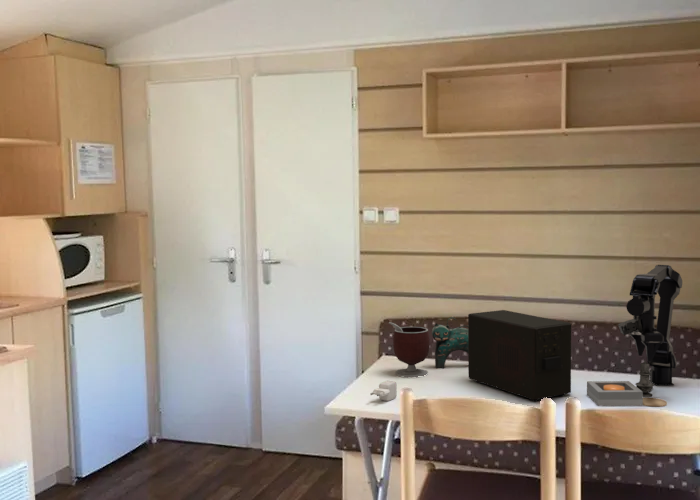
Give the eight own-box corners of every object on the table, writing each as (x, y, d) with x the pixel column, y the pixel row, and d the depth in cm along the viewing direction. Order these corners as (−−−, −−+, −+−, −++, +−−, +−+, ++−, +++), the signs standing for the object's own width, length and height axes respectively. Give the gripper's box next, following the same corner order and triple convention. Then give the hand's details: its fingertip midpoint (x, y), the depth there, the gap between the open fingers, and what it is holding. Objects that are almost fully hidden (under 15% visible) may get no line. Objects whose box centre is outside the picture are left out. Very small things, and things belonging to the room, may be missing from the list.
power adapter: (380, 406, 250) (380, 388, 250) (368, 403, 253) (367, 386, 253) (398, 398, 259) (398, 381, 259) (386, 396, 262) (386, 379, 262)
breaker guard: (628, 394, 260) (628, 381, 259) (642, 405, 246) (642, 391, 246) (586, 394, 260) (586, 381, 260) (598, 405, 246) (598, 392, 246)
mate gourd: (430, 369, 299) (430, 319, 298) (429, 378, 286) (428, 325, 284) (391, 369, 302) (390, 318, 300) (387, 377, 288) (387, 325, 287)
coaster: (661, 399, 253) (661, 397, 253) (671, 406, 244) (671, 404, 244) (633, 399, 253) (633, 397, 253) (642, 406, 244) (642, 405, 244)
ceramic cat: (433, 369, 300) (433, 319, 298) (430, 365, 306) (429, 316, 305) (483, 367, 302) (483, 317, 300) (479, 364, 308) (478, 314, 306)
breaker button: (620, 390, 256) (621, 384, 256) (627, 395, 250) (627, 389, 249) (601, 390, 256) (601, 384, 256) (606, 395, 250) (606, 389, 250)
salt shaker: (655, 397, 255) (655, 362, 254) (636, 396, 256) (637, 361, 255) (652, 392, 261) (652, 358, 260) (633, 392, 262) (634, 357, 261)
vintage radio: (582, 396, 258) (582, 322, 256) (538, 404, 249) (538, 328, 247) (508, 373, 291) (508, 308, 289) (467, 380, 282) (466, 313, 280)
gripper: (612, 308, 266) (612, 352, 267) (629, 316, 248) (629, 364, 249) (645, 308, 266) (644, 352, 267) (664, 316, 247) (663, 364, 248)
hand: (644, 358), depth 258 cm, fingers open, 9 cm apart
